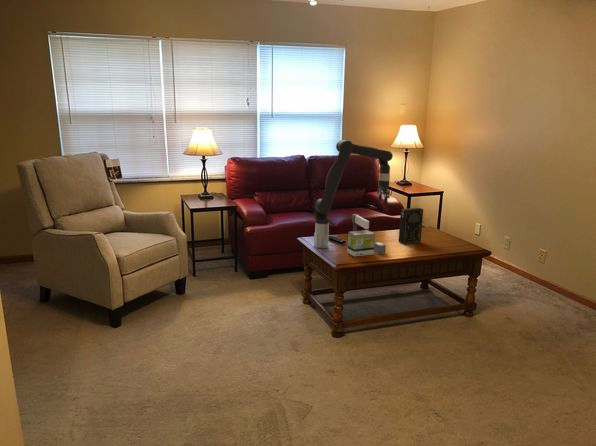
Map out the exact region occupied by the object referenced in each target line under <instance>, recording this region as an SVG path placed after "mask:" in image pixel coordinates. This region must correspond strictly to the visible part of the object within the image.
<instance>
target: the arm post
mask: <svg viewBox="0 0 596 446" xmlns="http://www.w3.org/2000/svg"><path fill="white" fill-rule="evenodd" d="M357 229H358V224H356V223H354V222H352V231H358V230H357Z"/></svg>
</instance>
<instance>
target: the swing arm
mask: <svg viewBox="0 0 596 446" xmlns="http://www.w3.org/2000/svg"><path fill="white" fill-rule="evenodd" d="M351 222H352V223H353V222H354V223H356V224H357V226H359V227H362V228H363V229H364V230H369V227H370V221H369V220H368V219H366V218H364V217H362V216H360V215H359V214H358V213H353V214H352V219H351Z"/></svg>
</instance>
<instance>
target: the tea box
mask: <svg viewBox="0 0 596 446" xmlns="http://www.w3.org/2000/svg"><path fill="white" fill-rule="evenodd" d="M375 241H376V233H374V232H372V231H371V230H369V229H364V230H357V231H353V230H352V231H348V236H347V249H346V250H347V251H346V252H347V254H349V255H351V256H353V258H355V257H362V256H371V255H374V253H375V252H374V245H375Z"/></svg>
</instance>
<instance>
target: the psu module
mask: <svg viewBox="0 0 596 446" xmlns="http://www.w3.org/2000/svg"><path fill="white" fill-rule="evenodd" d="M386 248H387V246H386V244H385V243H382V242H380V241H376V242H375V245H374V253H375V254H377V255H386Z"/></svg>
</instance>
